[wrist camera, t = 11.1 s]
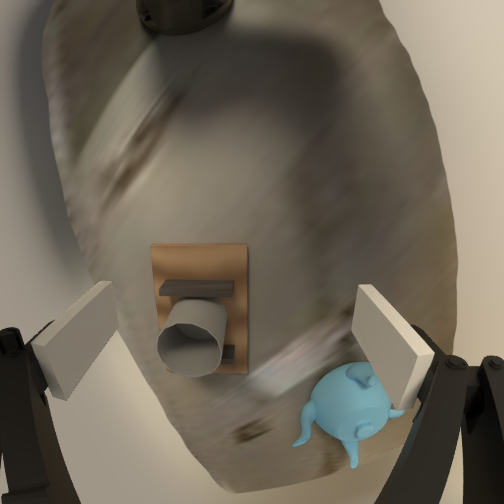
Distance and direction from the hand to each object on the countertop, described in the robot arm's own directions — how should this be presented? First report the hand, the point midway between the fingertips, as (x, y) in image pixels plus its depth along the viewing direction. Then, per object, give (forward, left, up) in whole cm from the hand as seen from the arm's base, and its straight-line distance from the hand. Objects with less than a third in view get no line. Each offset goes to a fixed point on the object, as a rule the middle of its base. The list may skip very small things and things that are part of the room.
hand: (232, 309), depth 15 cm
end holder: (+14, -6, -28) cm, 32 cm away
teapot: (+31, +19, -28) cm, 46 cm away
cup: (+14, -7, -27) cm, 31 cm away
